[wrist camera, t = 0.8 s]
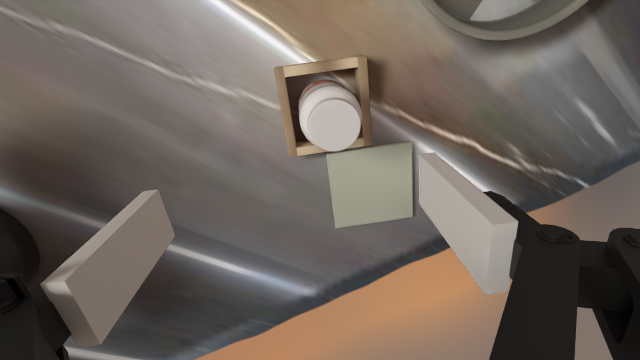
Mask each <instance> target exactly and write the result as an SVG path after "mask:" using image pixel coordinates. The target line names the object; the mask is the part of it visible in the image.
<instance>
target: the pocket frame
mask: <svg viewBox="0 0 640 360" xmlns="http://www.w3.org/2000/svg"><path fill="white" fill-rule="evenodd" d="M347 68H354V71H355V84H356V97H357V101H358V103H359V105H360V107H361V111H362V124H361V128H360V132H359V135H358V137H357V139H356V140H355V142H354V143H353V144H352V145H351V146H349V147H348V148H346V149H349V148H355V147H362V146H369V145H372V134H371V118H370V102H369V86H368V69H367V56H364V55H360V56H353V57H346V58H339V59H331V60H324V61H317V62H310V63H302V64H295V65H288V66H281V67H275V68H274V73H275V78H276V84H277V90H278V96H279V101H280V107H281V113H282V119H283V124H284V130H285V136H286V141H287V147H288V153H289V157H293V156H300V155H307V154H314V153H321V152H328V151H326V150H324V149H322V148H320V147H317V146H315V145H314V144H312V143H311V142H310V141H309V140H306V141H299V142H296V138H295V132H294V126H293V119H292V113H291V107H290V101H289V95H288V89H287V82H286V77H290V76H297V75H304V74H311V73H319V72H326V71H333V70H340V69H347Z"/></svg>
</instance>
